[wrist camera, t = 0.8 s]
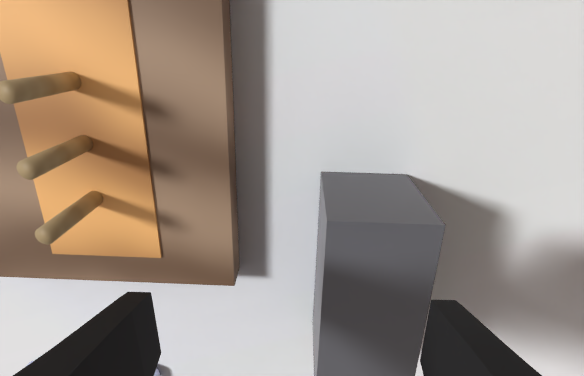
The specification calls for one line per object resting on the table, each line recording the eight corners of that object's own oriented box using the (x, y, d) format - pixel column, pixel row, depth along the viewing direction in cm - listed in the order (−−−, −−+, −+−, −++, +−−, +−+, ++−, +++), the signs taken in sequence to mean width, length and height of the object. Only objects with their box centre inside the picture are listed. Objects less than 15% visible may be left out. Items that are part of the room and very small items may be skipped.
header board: (239, 268, 19) (218, 340, 15) (15, 259, 20) (-75, 327, 15) (228, -42, 14) (189, -82, 9) (-79, -48, 14) (-264, -90, 10)
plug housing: (384, 326, 20) (407, 410, 16) (312, 323, 20) (314, 406, 16) (407, 174, 17) (445, 225, 12) (320, 171, 17) (326, 220, 12)
